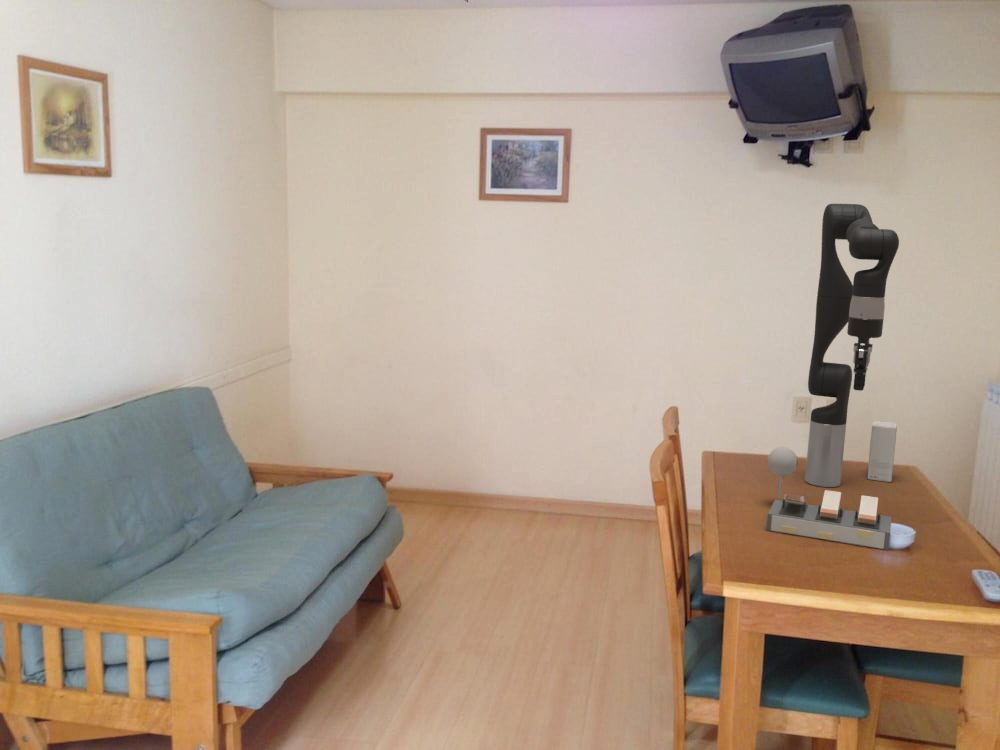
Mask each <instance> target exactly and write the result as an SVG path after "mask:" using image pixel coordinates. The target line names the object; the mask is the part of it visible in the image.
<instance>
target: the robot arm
mask: <svg viewBox="0 0 1000 750" xmlns="http://www.w3.org/2000/svg"><path fill="white" fill-rule="evenodd" d="M823 211H824V212H823V214H822V227H821V256H820V257H821V258H820V271H819V280H818V286H817V287H818V288H817V296H816V306H815V308H816V309H815V322H814V323H815V324H814V325H815V326H814V336H813V345H812V351H811V359H810V364H809V372H808V378H807V380H808V381H807V389H808V392H809V395H811V396H815V397H817V396H818V397H826V398H835V401H834V402H832V403H830V404H828V405H824V406H821V407H816V408H813V409H812V410H811V413H810V421H809V432H808V441H807V442H808V444H807V453H806V465H805V475H804V481H805V482H806V483H808V484H810V485H813V486H817V487H824V488H836V487H839V486H841V479H842V471H843V463H844V462H843V461H844V460H843V459H844V452H845V442H846V441H845V440H846V432H847V431H846V429H847V418H848V408H849V407H848V406H849V400H850V399H849V398H850V394H851V393H850V392H851V387H853V388H852V389H853V390H854V391H859V392H860V391H864V389H865V388H864V387H865V385H866V376H867V372H868V367H869V364H870V361H871V355H872V354H871V353H872V350H873V345H874V344H873V343H872V344H871V343H870V339H878V338H881V337H882V336H883V327H884V320H885V319H884V318H885V310H886V309H885V308H886V306H885V304H886V302H885V299H886V298H885V297H886V289H887V288H886V286H887V280H888V276H889V272H890V269H891V267H892V264H893V261H894V259H895V256H896V254H897V253H898V249H899V246H900V238H899V236H898V234H897V232H896V231H895V230H893V229H888V228H887V229H886V228H882V229H881V228H879V227H878V226H877V225H875V224H874V223H873V220H872V219H873V218H872V216H871V213H870V212H869V211H870V210H869V209H868V208H867V207H866V206H865V205H862V204H858V203H857V204H856V203H829V204H827V205H826V206H825V208H824V210H823ZM836 240H844V241H845V240H846V241H847V242H848V252H849V255H850V256H851V257H852V258H854V259H856V260H869V261H871V260H872V261H878V262H877V263H876V264H875V266H874V267H872V268H870V269H867V268H866V269H862V270H859V271H856V272H855V273H854V276H853V281H851V279H850V277H849V275H848V274H847V271H846V270H845V269H844V267H843V265H842V263H841V261H840V258H839V256H838V251H837V248H836V247H837V246H836ZM846 325H847V333H846V334H847V335H848V336H849V337H850V336H851V337H855V338H857V342H854V344H853V348H852V349H853V361H852V363H853V364H854V368H852V367H851V365H849V364H845V363H836V362H824V358H825V355H826V352H827V351H828V349H829V347H830V346H831V345H832V343H833V341H834V340H835V339H836V337H837V336H838V335H839V334H840V333H841V332H842V330H843V329H844V328H845V327H846ZM852 369H853V371H852ZM853 374H854V378H853ZM852 380H853V386H852Z"/></svg>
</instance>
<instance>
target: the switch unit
mask: <svg viewBox="0 0 1000 750" xmlns="http://www.w3.org/2000/svg"><path fill="white" fill-rule="evenodd" d="M821 506H822V504H818V505H814V504H807V502H805V501H804V503H802V502H796V501H789V500H786V499H785V498H783V499H781V500H778V499H774V501H773V503H772V504H771V507H770V509H769V511H768V513H767V518H766V531H769V532H776V533H781V534H788V535H793V536H794V535H795V536H798V537H799V536H800V537H805V538H811V539H818V540H824V541H831V542H834V543H835V542H836V543H842V544H849V545H853V546H854V545H855V546H859V547H860V546H861V547H867V548H872V549H873V548H874V549H879V550H884V551H889V547H890V539H891V538H890V536H891V529H892V516H889V515H888V516H887V515H881V513H878V514H876V522H875V524H868V523H862V522H858V515H859V510H855V511H853V510H848V509H847V510H846V509H843V507H839V510H838V515H837V519H836V518H830V517H823V516H820V511H821Z"/></svg>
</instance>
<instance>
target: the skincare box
mask: <svg viewBox="0 0 1000 750" xmlns="http://www.w3.org/2000/svg"><path fill="white" fill-rule="evenodd" d="M897 428H898V423H897V422H892V421H891V422H889V421H888V422H887V421H878V420H877V421H876V420H873V422H872V426H871V432H870V443H869V453H868V467H867V469H868V470H867V479H868V480H870V481H871V480H872V481H878V482H886V483H892V479H893V472H894V471H893V470H894V463H895V452H896V441H897V433H898V432H897V431H898V430H897Z"/></svg>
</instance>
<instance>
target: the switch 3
mask: <svg viewBox="0 0 1000 750" xmlns="http://www.w3.org/2000/svg"><path fill="white" fill-rule="evenodd" d="M878 504H879V497H876V496H869V495H862V494H861V496H860V504H859V510H858V512H859V515H858V522H862V523H868V524H875V522H876V515H878V514H877V512H878V506H879V505H878Z"/></svg>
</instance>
